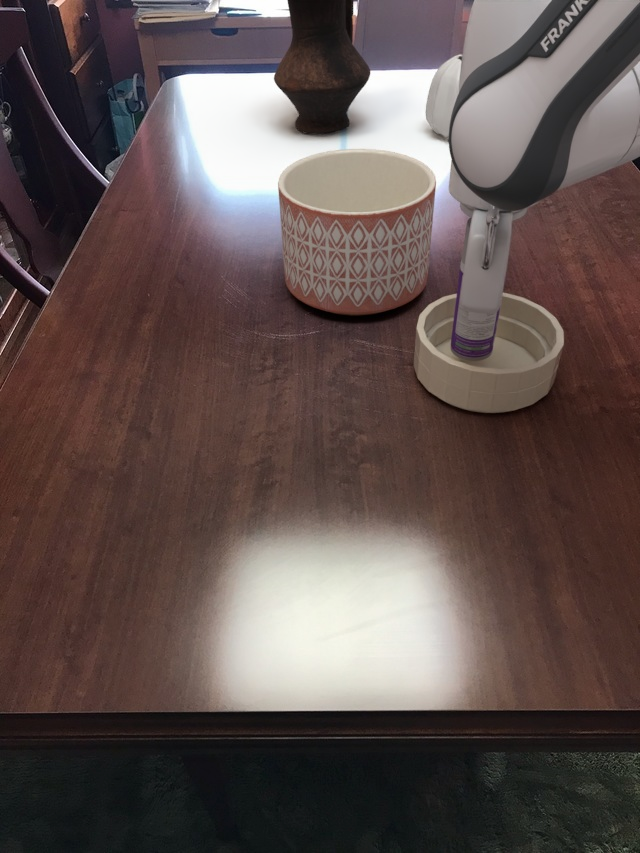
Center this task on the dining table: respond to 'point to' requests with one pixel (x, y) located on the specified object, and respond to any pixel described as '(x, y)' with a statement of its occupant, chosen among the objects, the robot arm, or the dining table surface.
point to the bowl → (490, 357)
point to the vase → (443, 95)
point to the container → (471, 324)
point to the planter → (356, 229)
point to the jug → (321, 65)
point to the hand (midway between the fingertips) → (479, 301)
